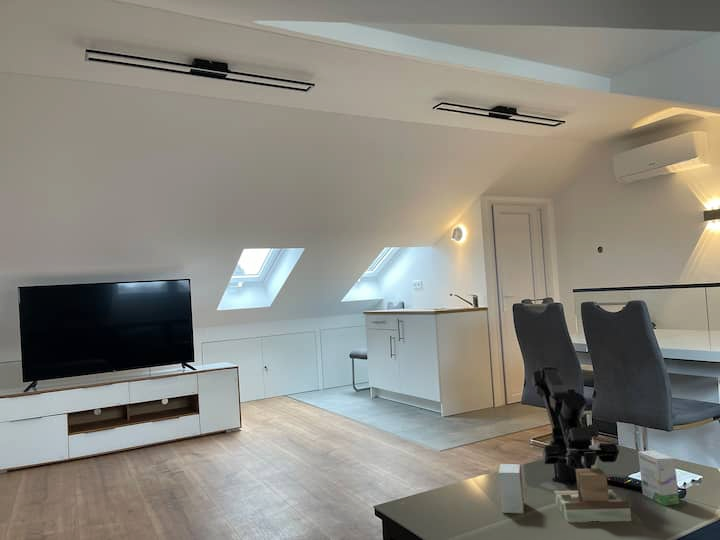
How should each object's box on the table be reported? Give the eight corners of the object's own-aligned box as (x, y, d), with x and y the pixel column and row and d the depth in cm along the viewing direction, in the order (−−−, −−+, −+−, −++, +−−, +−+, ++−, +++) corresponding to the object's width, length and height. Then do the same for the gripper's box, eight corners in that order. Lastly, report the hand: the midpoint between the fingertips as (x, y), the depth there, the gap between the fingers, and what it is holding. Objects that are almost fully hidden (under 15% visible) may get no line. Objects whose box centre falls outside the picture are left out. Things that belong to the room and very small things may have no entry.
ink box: (680, 504, 135) (675, 457, 136) (663, 506, 135) (657, 459, 135) (658, 492, 144) (653, 449, 144) (642, 494, 143) (637, 451, 144)
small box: (523, 514, 136) (519, 473, 137) (501, 513, 138) (497, 472, 138) (524, 502, 144) (520, 463, 144) (503, 501, 145) (499, 463, 146)
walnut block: (578, 500, 135) (575, 469, 135) (603, 500, 134) (599, 468, 134) (584, 508, 130) (581, 475, 130) (609, 507, 129) (606, 474, 129)
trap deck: (555, 502, 142) (553, 485, 142) (613, 501, 140) (611, 483, 140) (567, 522, 129) (565, 503, 130) (631, 521, 127) (629, 502, 128)
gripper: (540, 415, 142) (554, 469, 131) (612, 412, 140) (632, 466, 128) (537, 437, 150) (550, 490, 138) (606, 434, 147) (624, 488, 135)
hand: (588, 483), depth 135 cm, fingers closed, pressing on walnut block
